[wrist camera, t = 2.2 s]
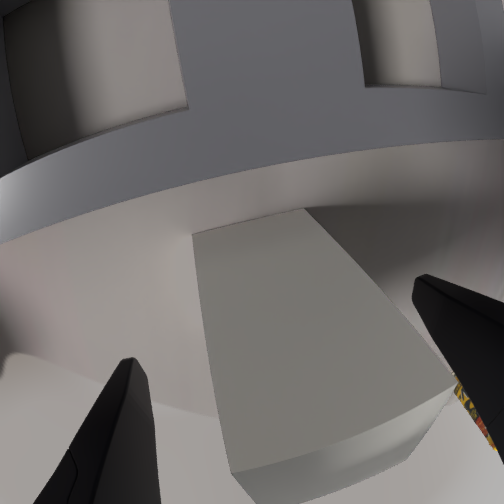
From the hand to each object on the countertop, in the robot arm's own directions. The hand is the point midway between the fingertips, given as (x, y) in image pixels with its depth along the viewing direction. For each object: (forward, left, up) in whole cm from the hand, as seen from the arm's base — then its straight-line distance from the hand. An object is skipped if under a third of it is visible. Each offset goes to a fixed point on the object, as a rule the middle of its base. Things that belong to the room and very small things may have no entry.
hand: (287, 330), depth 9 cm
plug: (0, 0, -4) cm, 4 cm away
